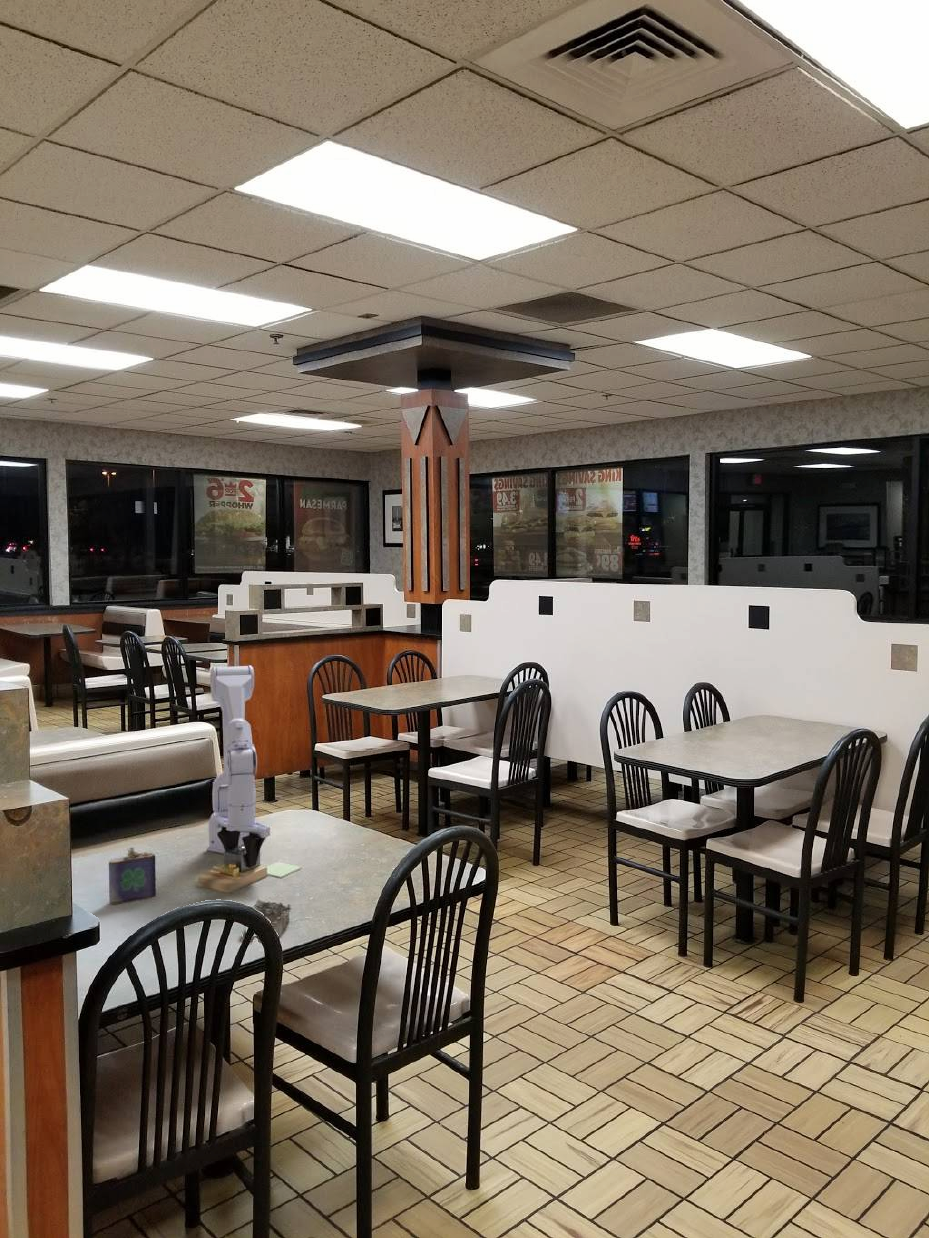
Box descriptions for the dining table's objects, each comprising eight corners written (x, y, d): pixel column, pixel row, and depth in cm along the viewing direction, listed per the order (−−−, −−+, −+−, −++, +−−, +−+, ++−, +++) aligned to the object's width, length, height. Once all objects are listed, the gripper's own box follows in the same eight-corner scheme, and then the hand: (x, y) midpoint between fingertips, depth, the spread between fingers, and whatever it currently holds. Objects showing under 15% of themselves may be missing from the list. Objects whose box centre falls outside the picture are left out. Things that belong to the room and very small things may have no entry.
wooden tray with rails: (197, 885, 202) (197, 873, 202) (236, 868, 213) (236, 857, 213) (228, 893, 198) (228, 881, 198) (267, 875, 208) (267, 864, 208)
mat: (256, 872, 211) (256, 870, 211) (277, 863, 217) (277, 861, 217) (280, 877, 207) (280, 876, 207) (301, 868, 213) (301, 867, 213)
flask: (110, 905, 191) (109, 854, 190) (107, 901, 193) (106, 850, 192) (157, 897, 196) (156, 847, 195) (154, 893, 198) (153, 843, 197)
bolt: (219, 875, 203) (219, 862, 202) (224, 873, 204) (224, 860, 204) (233, 878, 201) (233, 866, 201) (238, 876, 202) (238, 863, 202)
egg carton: (279, 941, 175) (278, 920, 175) (239, 939, 176) (239, 917, 176) (294, 918, 186) (294, 898, 186) (257, 916, 187) (257, 896, 186)
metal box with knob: (224, 869, 207) (223, 849, 206) (243, 861, 212) (242, 841, 211) (241, 873, 204) (241, 853, 204) (260, 865, 209) (260, 845, 209)
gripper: (203, 802, 207) (204, 863, 208) (254, 812, 200) (254, 875, 201) (226, 795, 213) (227, 854, 214) (276, 804, 206) (276, 865, 207)
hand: (242, 863), depth 208 cm, fingers closed on metal box with knob, 5 cm apart
